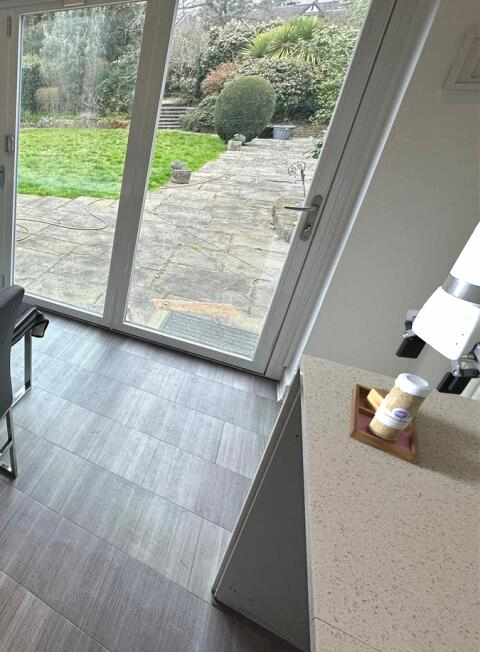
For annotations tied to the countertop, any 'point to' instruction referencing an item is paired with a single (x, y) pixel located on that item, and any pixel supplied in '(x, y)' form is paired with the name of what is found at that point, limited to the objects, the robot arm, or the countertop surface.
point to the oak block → (376, 398)
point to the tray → (359, 430)
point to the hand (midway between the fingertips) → (425, 373)
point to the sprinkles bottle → (400, 406)
